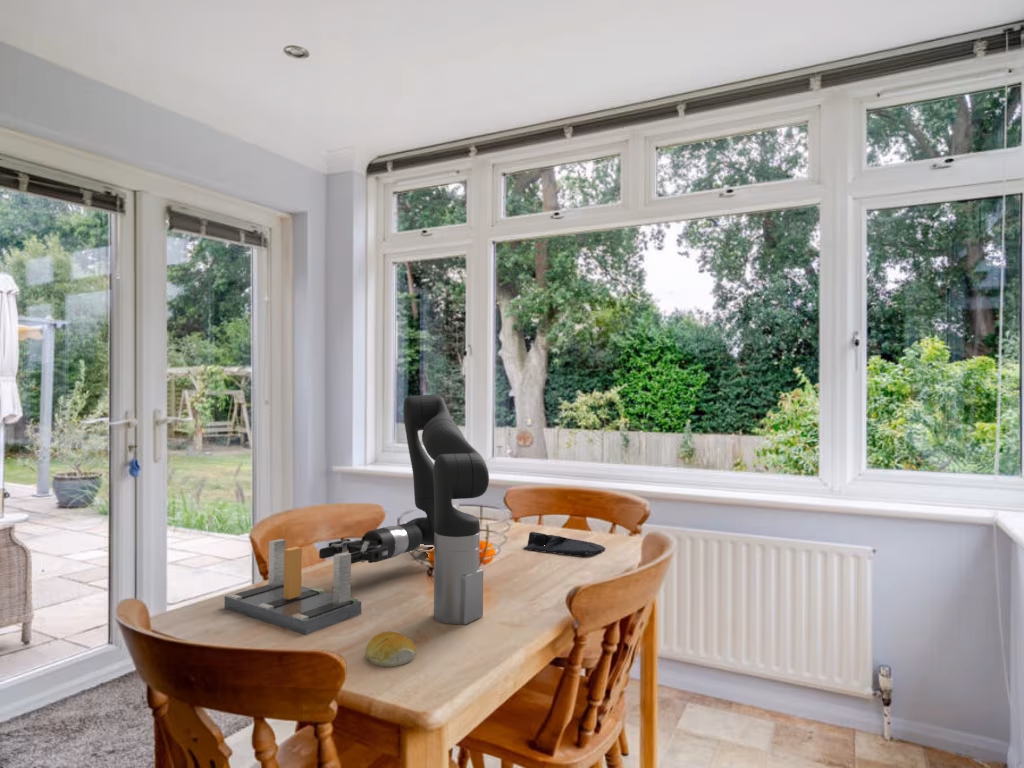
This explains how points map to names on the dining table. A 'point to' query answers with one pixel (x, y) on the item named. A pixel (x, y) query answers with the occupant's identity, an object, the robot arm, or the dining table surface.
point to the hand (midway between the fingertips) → (333, 556)
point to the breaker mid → (292, 572)
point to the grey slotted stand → (300, 611)
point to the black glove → (561, 545)
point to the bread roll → (390, 649)
